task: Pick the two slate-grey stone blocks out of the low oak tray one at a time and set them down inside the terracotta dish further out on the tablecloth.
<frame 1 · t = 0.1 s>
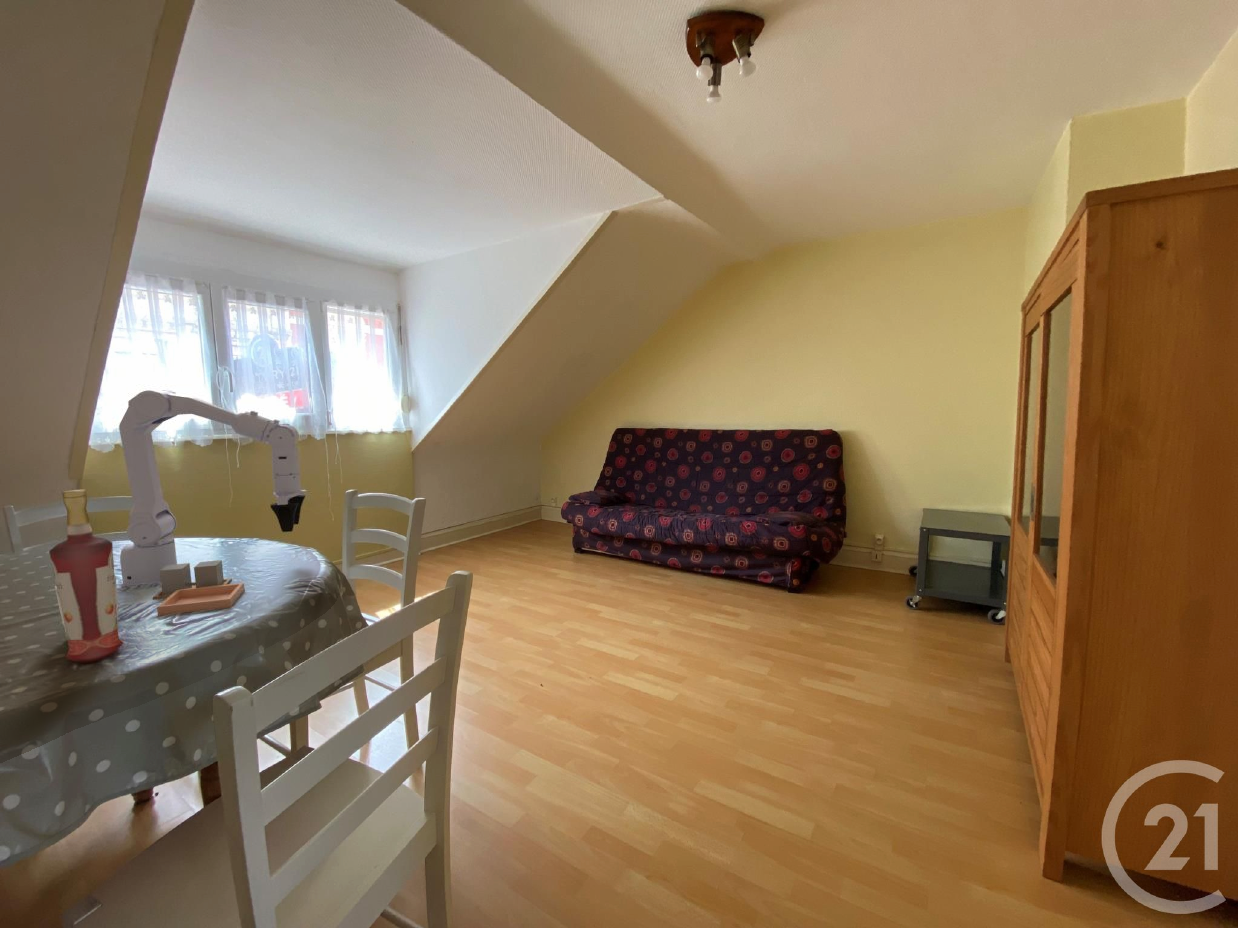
hand: (290, 527, 136), 10 cm above the table, fingers open, 7 cm apart
strawberry juice bottle: (93, 635, 99), on the table
terracotta dish: (204, 604, 113), on the table
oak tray: (194, 591, 120), on the table
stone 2: (210, 587, 121), resting on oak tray
liquor: (96, 657, 91), on the table
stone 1: (177, 591, 119), resting on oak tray
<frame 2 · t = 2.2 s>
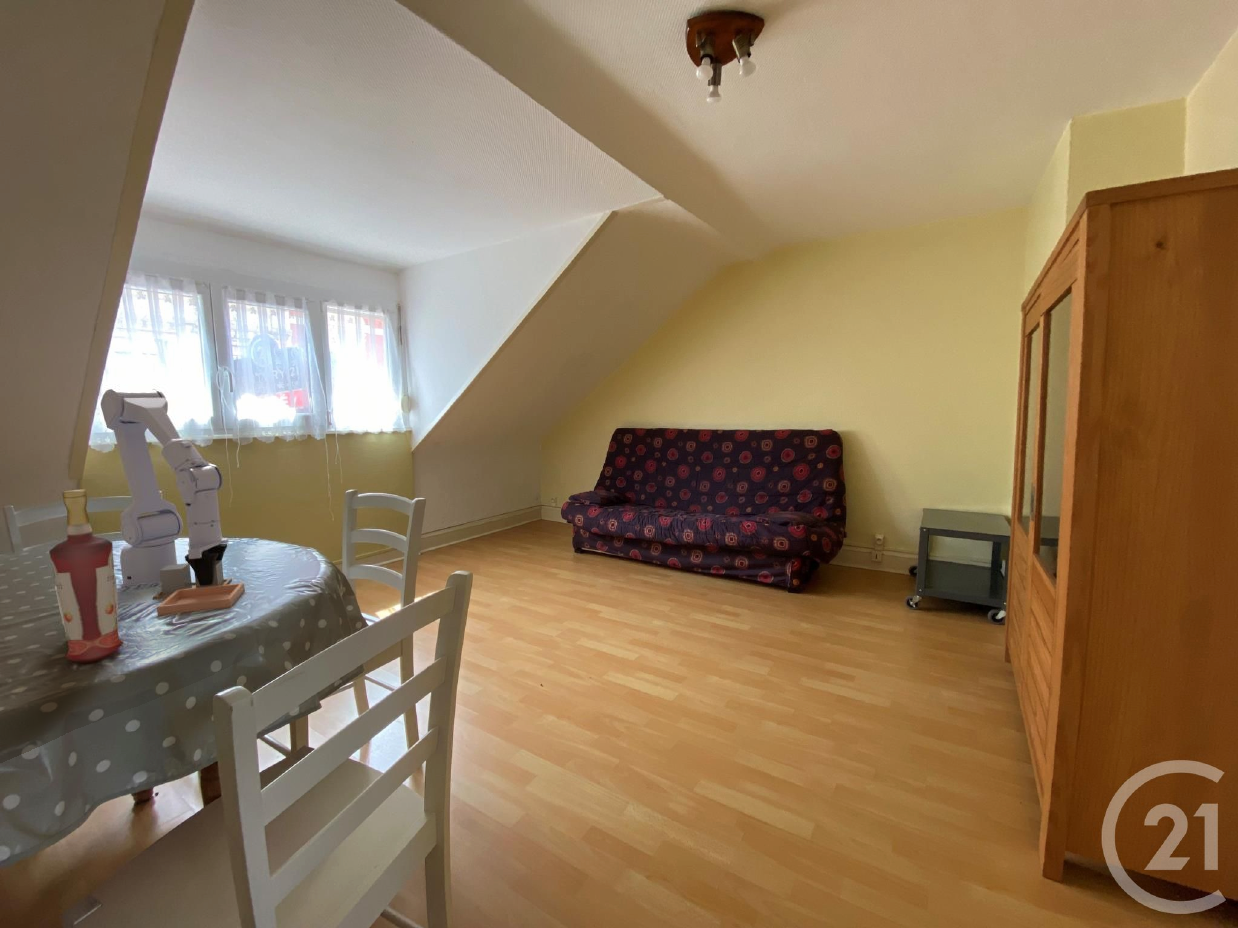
hand: (209, 581, 121), 2 cm above the table, fingers closed on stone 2, 4 cm apart
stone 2: (210, 587, 121), resting on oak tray, touching gripper
everything else where it was.
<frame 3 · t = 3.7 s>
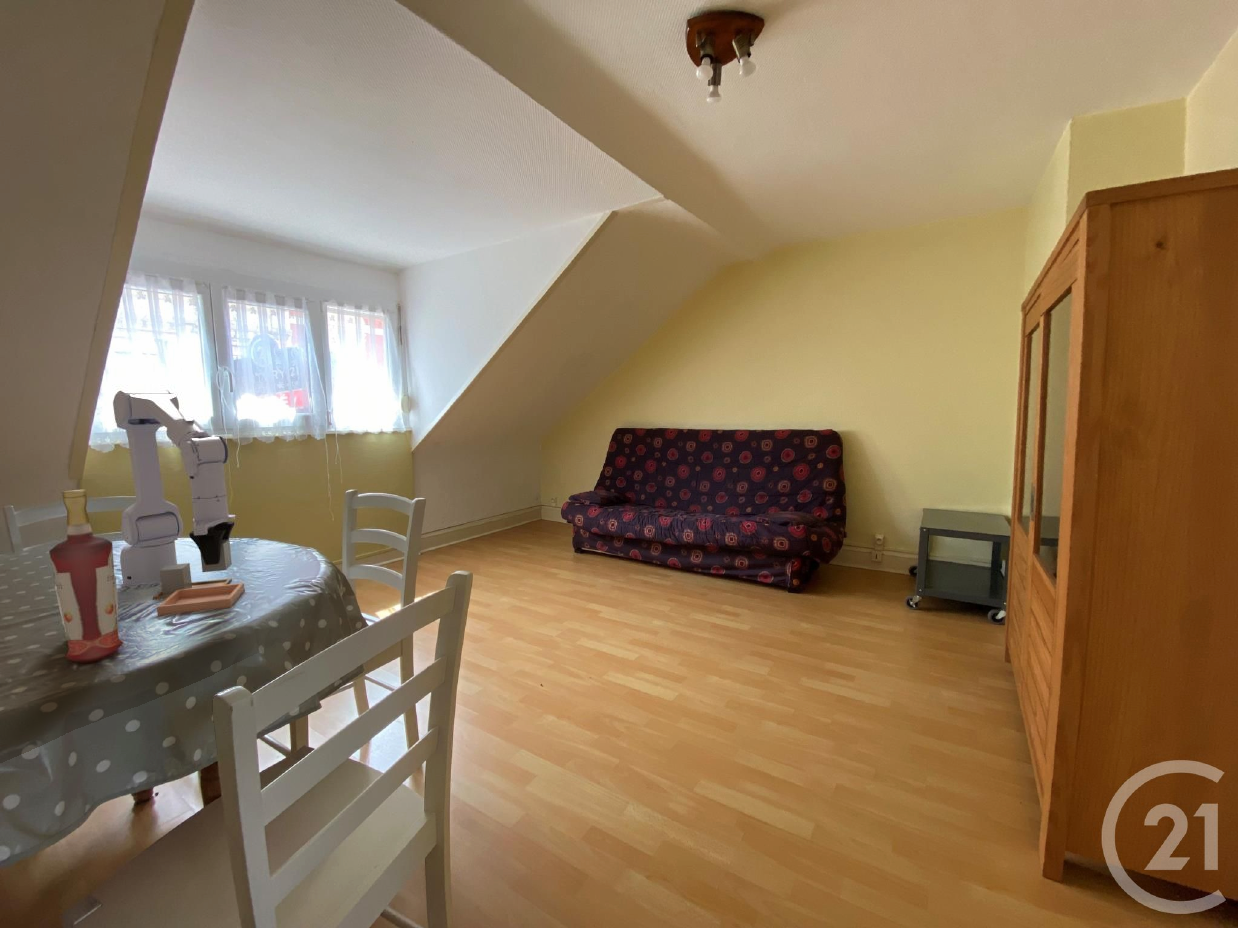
hand: (216, 560, 113), 9 cm above the table, fingers closed on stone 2, 4 cm apart
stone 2: (217, 568, 113), point 7 cm above the table, touching gripper
everything else where it was.
when the fingers open (4 cm above the table, at t = 5.1 s): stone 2 drops 2 cm, resting on terracotta dish.
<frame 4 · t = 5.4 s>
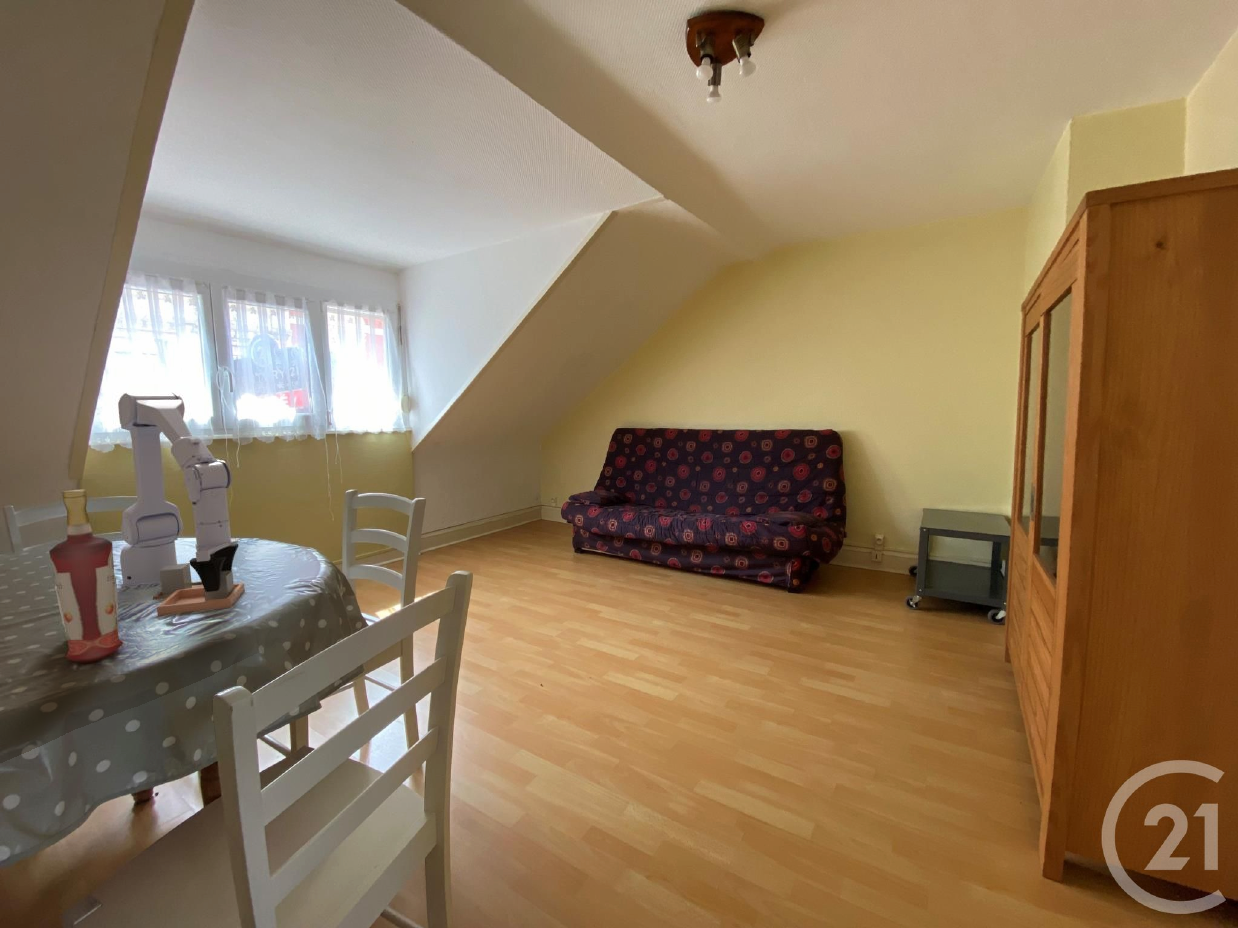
hand: (218, 585, 114), 4 cm above the table, fingers open, 7 cm apart
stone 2: (220, 599, 114), point 1 cm above the table, touching terracotta dish
everything else where it was.
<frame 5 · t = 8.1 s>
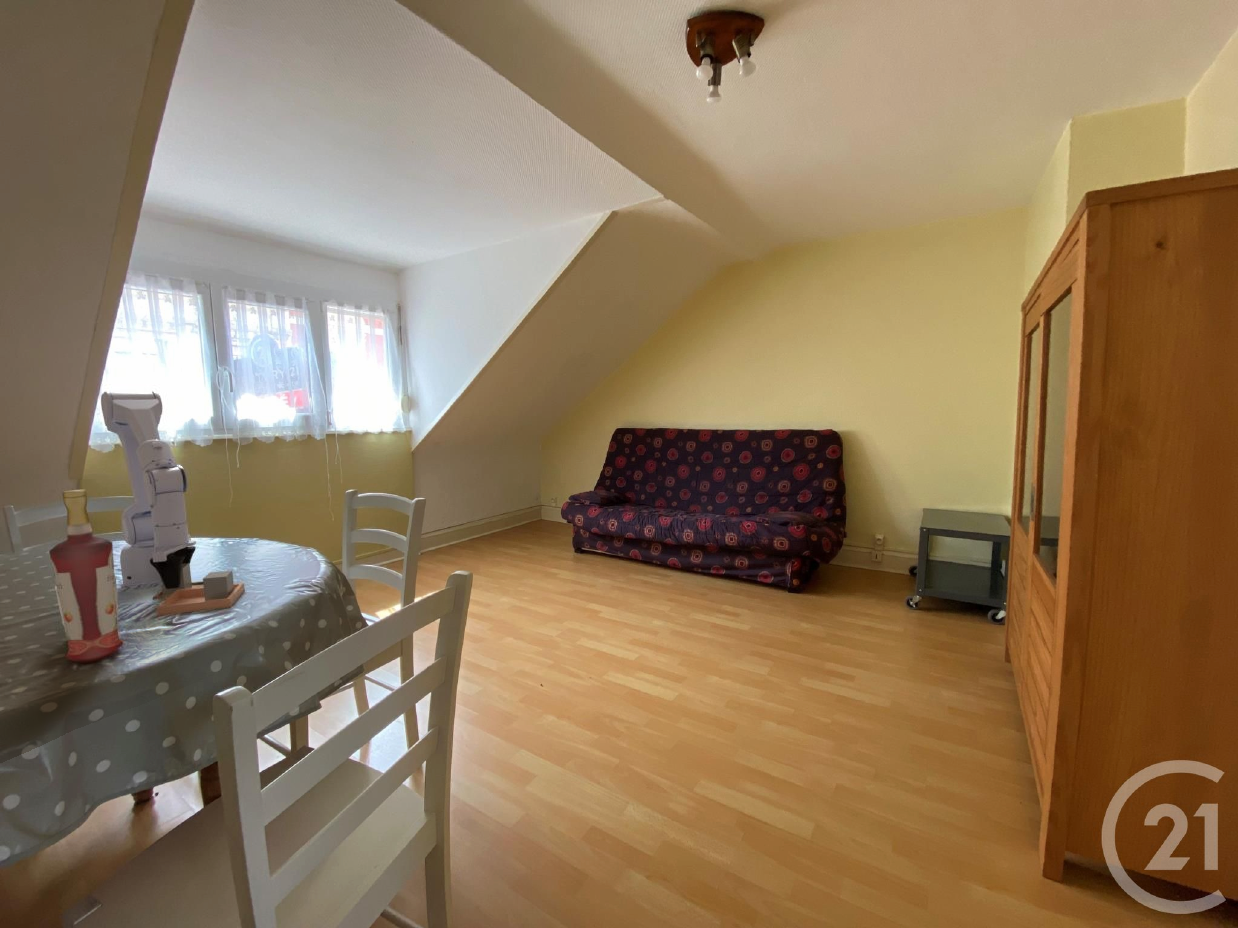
hand: (176, 584, 119), 2 cm above the table, fingers closed on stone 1, 4 cm apart
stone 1: (177, 591, 119), resting on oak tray, touching gripper
everything else where it was.
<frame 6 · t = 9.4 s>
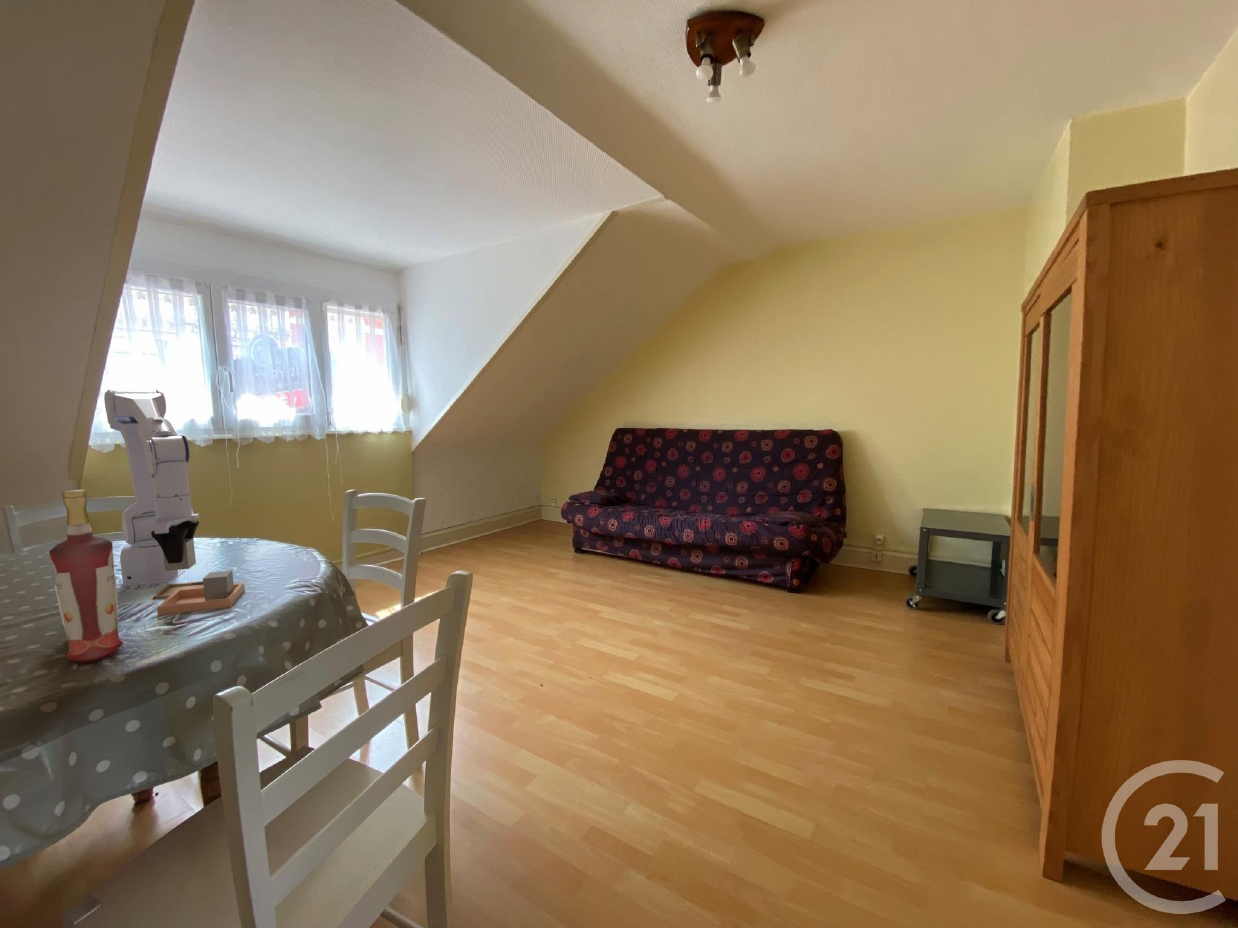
hand: (179, 559, 113), 9 cm above the table, fingers closed on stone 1, 4 cm apart
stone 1: (180, 567, 114), point 7 cm above the table, touching gripper
everything else where it was.
when the fingers open (4 cm above the table, at t = 11.0 s): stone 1 drops 2 cm, resting on terracotta dish.
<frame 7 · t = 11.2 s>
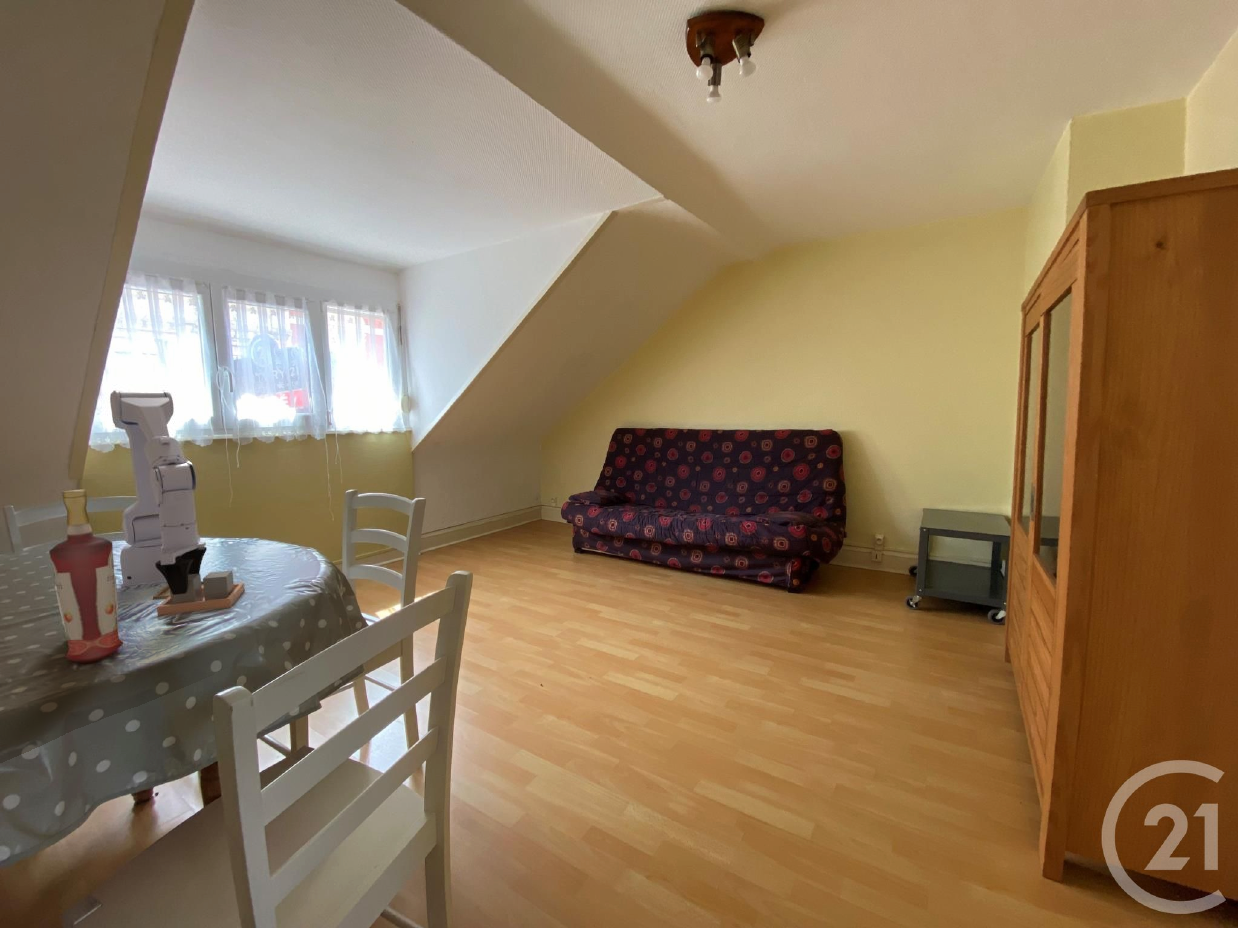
hand: (185, 588, 112), 4 cm above the table, fingers open, 6 cm apart
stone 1: (187, 603, 112), point 1 cm above the table, touching terracotta dish
everything else where it was.
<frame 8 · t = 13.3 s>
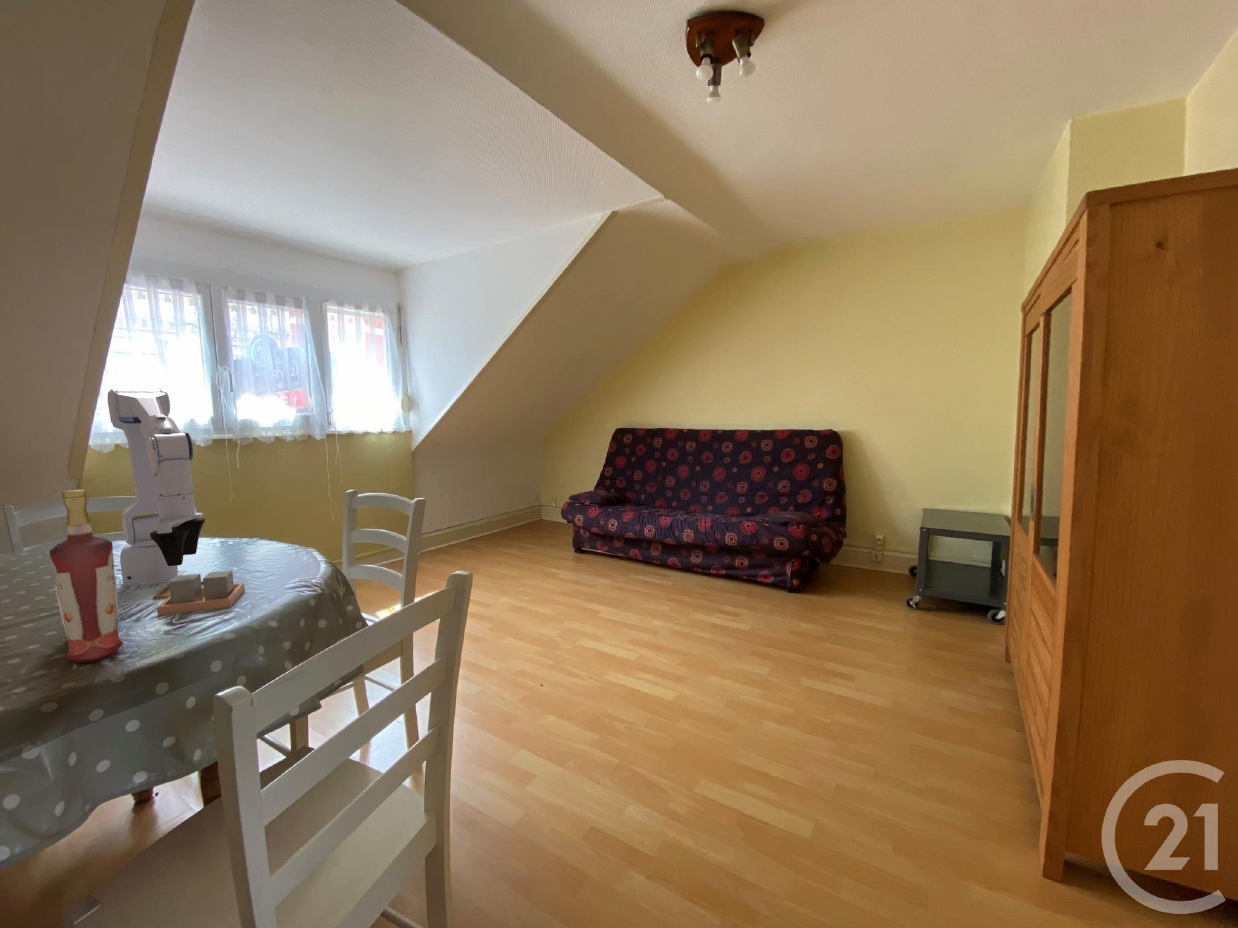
hand: (182, 559, 111), 10 cm above the table, fingers open, 7 cm apart
nothing on the table moved.
at the end: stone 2 inside the target area on the terracotta dish (2.9 cm from its centre), point 0.6 cm above the terracotta dish's base; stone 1 inside the target area on the terracotta dish (2.7 cm from its centre), point 0.6 cm above the terracotta dish's base; the gripper is holding nothing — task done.
